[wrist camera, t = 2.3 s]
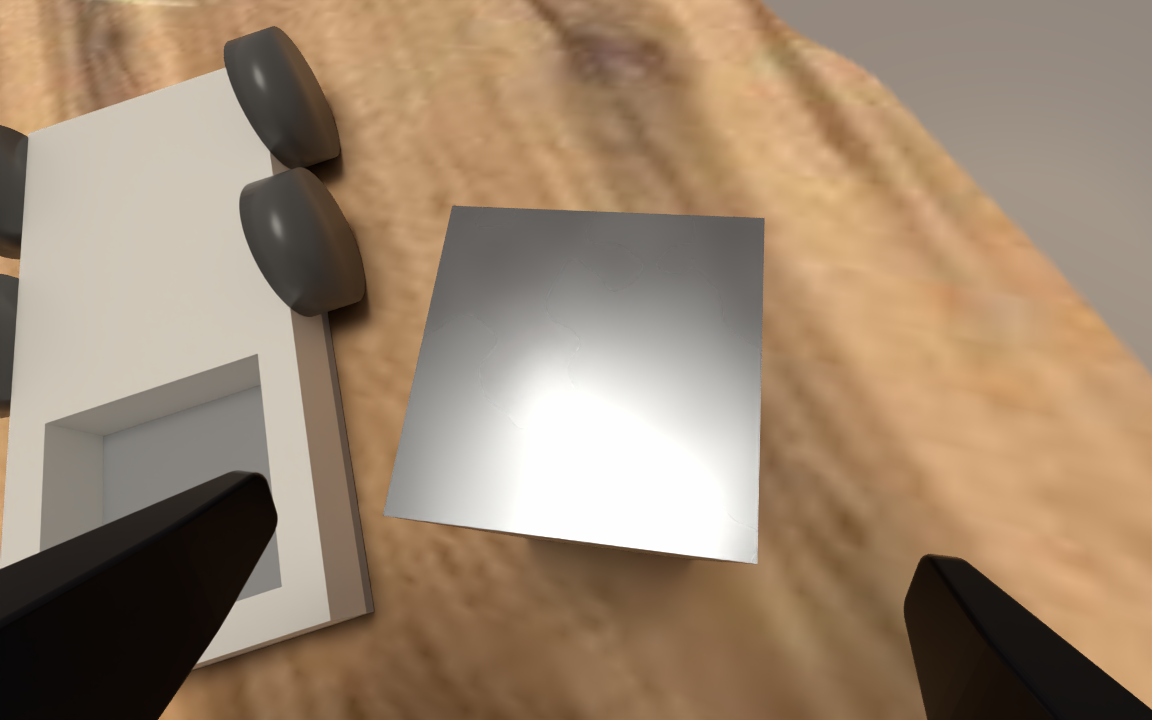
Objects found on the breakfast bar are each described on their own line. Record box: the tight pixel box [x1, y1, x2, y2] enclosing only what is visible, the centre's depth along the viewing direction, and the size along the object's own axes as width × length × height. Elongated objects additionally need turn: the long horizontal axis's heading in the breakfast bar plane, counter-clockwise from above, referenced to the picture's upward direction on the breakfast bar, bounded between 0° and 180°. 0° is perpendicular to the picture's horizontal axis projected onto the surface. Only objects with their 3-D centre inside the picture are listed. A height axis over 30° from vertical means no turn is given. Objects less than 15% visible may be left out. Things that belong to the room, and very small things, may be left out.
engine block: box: [383, 206, 764, 564], centre depth 13 cm, size 5×5×10 cm
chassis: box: [0, 26, 374, 670], centre depth 18 cm, size 21×13×5 cm, turn 17°
